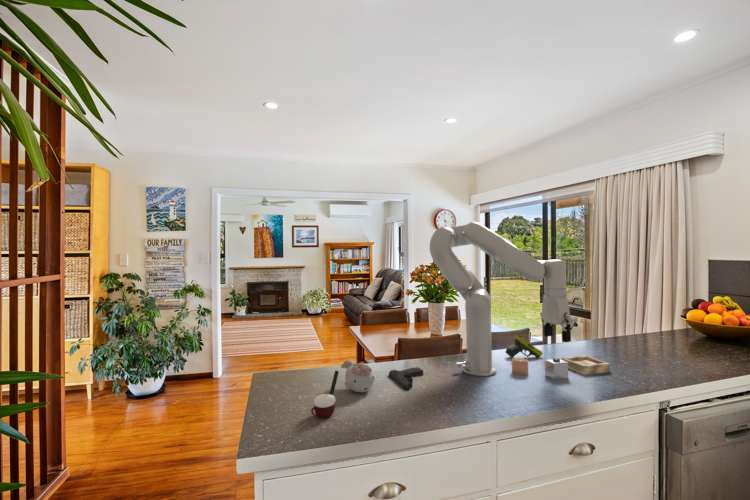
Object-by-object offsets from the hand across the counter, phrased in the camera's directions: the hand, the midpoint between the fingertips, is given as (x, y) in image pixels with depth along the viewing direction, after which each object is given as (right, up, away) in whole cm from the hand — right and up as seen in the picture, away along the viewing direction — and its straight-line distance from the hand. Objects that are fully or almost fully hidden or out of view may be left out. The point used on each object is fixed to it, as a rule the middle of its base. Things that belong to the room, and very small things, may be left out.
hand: (557, 338), depth 145 cm
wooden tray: (+15, -14, +9) cm, 22 cm away
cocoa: (-82, -16, -30) cm, 89 cm away
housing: (0, -14, 0) cm, 14 cm away
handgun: (-54, -16, 0) cm, 57 cm away
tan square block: (-12, -15, +6) cm, 20 cm away
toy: (-74, -16, -8) cm, 76 cm away
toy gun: (-2, -15, +26) cm, 30 cm away
